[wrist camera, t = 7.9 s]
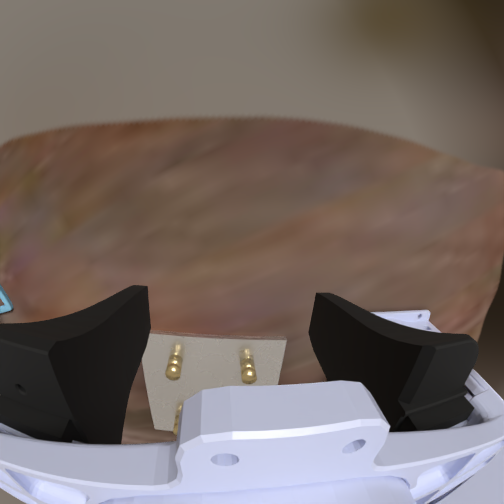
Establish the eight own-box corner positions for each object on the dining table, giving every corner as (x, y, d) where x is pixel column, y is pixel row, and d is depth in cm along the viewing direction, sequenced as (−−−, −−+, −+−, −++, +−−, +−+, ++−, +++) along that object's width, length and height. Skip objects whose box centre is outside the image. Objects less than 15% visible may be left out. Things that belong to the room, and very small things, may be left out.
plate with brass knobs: (284, 333, 23) (291, 354, 21) (265, 427, 27) (269, 447, 24) (141, 325, 22) (132, 346, 19) (156, 422, 26) (152, 442, 23)
